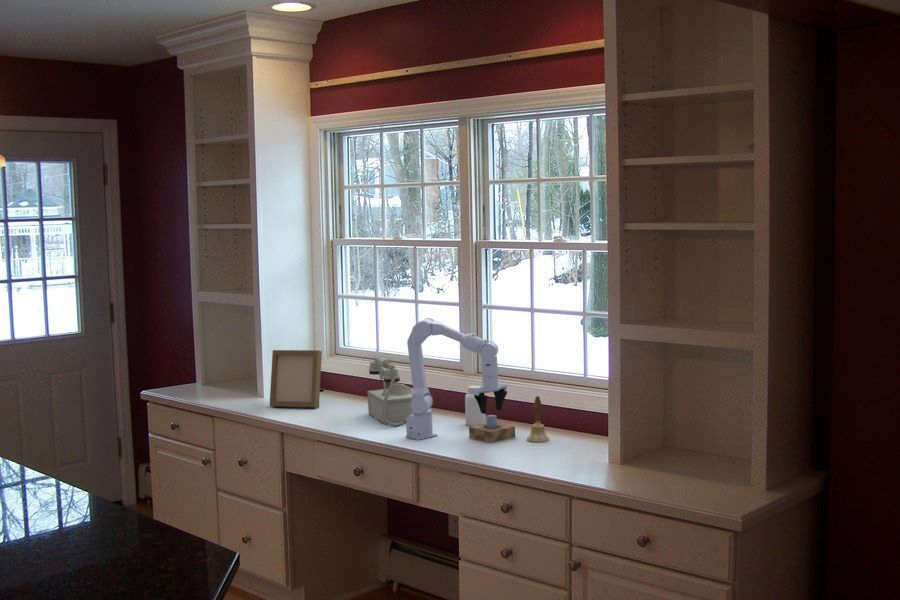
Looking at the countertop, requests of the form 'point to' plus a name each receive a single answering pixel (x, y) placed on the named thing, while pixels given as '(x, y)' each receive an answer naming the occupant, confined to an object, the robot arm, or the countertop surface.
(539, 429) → the hand bell
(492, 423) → the peg
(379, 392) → the grey machine
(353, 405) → the countertop surface
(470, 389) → the pill bottle
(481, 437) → the socket block
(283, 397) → the photo frame
